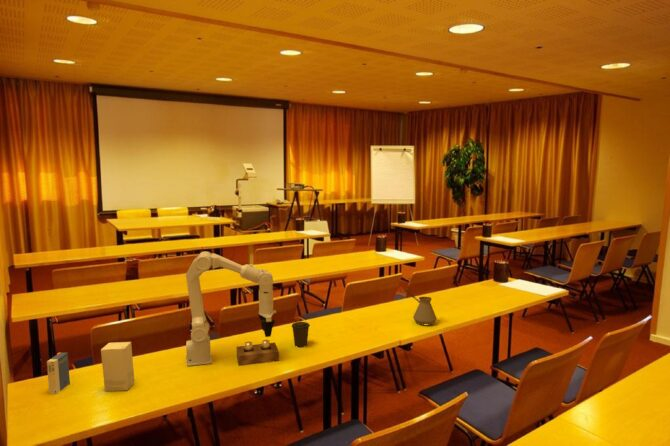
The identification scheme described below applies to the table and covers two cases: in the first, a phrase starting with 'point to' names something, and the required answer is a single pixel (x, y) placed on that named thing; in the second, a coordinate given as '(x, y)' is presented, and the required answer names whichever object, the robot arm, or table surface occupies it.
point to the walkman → (58, 373)
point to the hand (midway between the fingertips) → (266, 333)
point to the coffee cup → (300, 333)
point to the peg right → (265, 345)
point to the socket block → (257, 354)
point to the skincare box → (117, 366)
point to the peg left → (248, 346)
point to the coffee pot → (423, 310)
